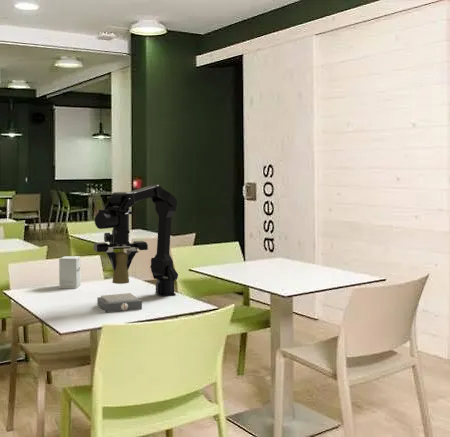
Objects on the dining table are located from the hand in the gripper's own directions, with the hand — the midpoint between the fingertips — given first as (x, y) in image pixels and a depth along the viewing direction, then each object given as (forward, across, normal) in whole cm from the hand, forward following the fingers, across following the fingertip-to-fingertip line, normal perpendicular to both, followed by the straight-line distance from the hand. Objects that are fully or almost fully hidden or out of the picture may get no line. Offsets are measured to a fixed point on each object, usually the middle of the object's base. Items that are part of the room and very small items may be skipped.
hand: (120, 270), depth 224 cm
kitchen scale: (+13, +1, +2) cm, 13 cm away
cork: (+5, 0, 0) cm, 5 cm away
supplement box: (+13, +9, -43) cm, 46 cm away
